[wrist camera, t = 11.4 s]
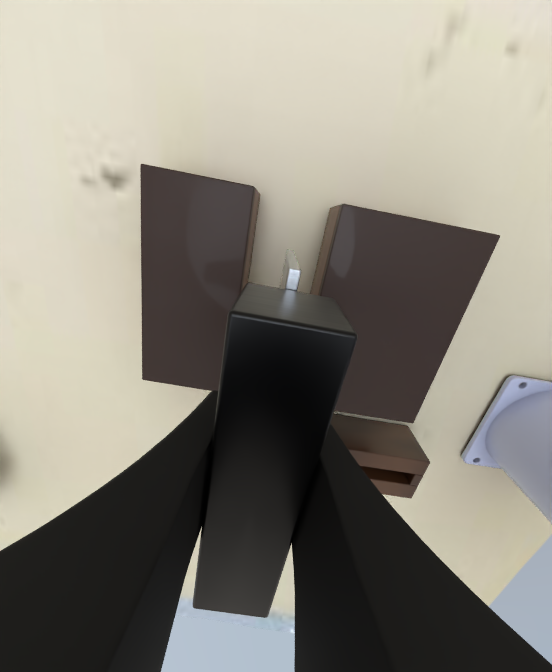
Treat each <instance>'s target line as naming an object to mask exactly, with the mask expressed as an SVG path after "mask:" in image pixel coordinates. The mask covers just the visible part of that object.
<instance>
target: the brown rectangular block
mask: <svg viewBox="0 0 552 672" xmlns="http://www.w3.org/2000/svg"><path fill="white" fill-rule="evenodd" d="M259 200H260V194H259V192H258V191H257V190H256V188H255V187H254V186H250V185H245V184H240V183H235V182H230V181H225V180H220V179H215V178H210V177H205V176H200V175H195V174H190V173H185V172H180V171H175V170H170V169H165V168H160V167H155V166H150V165H145V164H141V271H142V379H143V380H148V381H154V382H160V383H166V384H173V385H179V386H185V387H191V388H197V389H204V390H210V391H214V390H216V391H219V382H220V374H221V366H222V358H223V349H224V341H225V333H226V325H227V316H228V313H229V311H230V309H231V308H232V306H233V305H234V303H235V301H236V300H237V298H238V297H239V295H240V293H241V292H242V290H243V289H244V287H245V285H246V284H247V283H248V278H249V271H250V264H251V257H252V250H253V242H254V235H255V228H256V221H257V214H258V207H259Z"/></svg>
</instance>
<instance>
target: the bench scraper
mask: <svg viewBox="0 0 552 672" xmlns="http://www.w3.org/2000/svg"><path fill="white" fill-rule="evenodd" d="M300 275H301V269H300V266H299V264H298V261H297V258H296V255H295V253H294V251H293V250H289V249H287V251H286V256H285V262H284V267H283V272H282V278H281V283H280V288H275V287H270V286H265V285H259V284H254V283H247V284H246V285H245V287H244V289H243V290H242V292H241V293H240V295H239V297H238V298H237V300H236V301H235V303H234V305H233V306H232V308H231V309H230V311H229V313H228V316H227V325H226V333H225V341H224V349H223V358H222V366H221V374H220V382H219V391H218V399H217V407H216V415H215V424H214V432H213V440H212V448H211V457H210V465H209V473H208V482H207V490H206V498H205V506H204V515H203V523H202V531H201V539H200V548H199V556H198V564H197V572H196V581H195V589H194V597H193V607H194V608H196V609H204V610H211V611H219V612H226V613H234V614H241V615H249V616H256V617H264V618H266V617H268V614H269V611H270V608H271V605H272V602H273V599H274V595H275V592H276V589H277V586H278V583H279V580H280V577H281V574H282V571H283V568H284V565H285V561H286V558H287V555H288V552H289V549H290V546H291V543H292V540H293V537H294V534H295V530H296V527H297V524H298V521H299V518H300V515H301V512H302V509H303V506H304V503H305V500H306V496H307V493H308V490H309V487H310V484H311V481H312V478H313V475H314V472H315V469H316V465H317V462H318V459H319V456H320V453H321V450H322V447H323V444H324V441H325V438H326V435H327V431H328V428H329V425H330V422H331V419H332V416H333V413H334V410H335V407H336V404H337V400H338V397H339V394H340V391H341V388H342V385H343V382H344V379H345V376H346V373H347V370H348V366H349V363H350V360H351V357H352V354H353V351H354V348H355V345H356V342H357V339H358V335H357V333H356V331H355V330H354V328H353V327H352V325H351V324H350V322H349V321H348V319H347V318H346V316H345V315H344V313H343V312H342V310H341V309H340V307H339V306H338V304H337V303H336V301H335V300H334V299H333V298H329V297H323V296H318V295H313V294H307V293H302V292H297V289H298V284H299V279H300Z"/></svg>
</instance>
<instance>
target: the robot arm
mask: <svg viewBox="0 0 552 672" xmlns="http://www.w3.org/2000/svg"><path fill="white" fill-rule="evenodd" d="M520 383H521V384H520ZM519 384H520V385H519ZM217 399H218V391H216V390H214V391H212V392H210V393H209V394H208V396H207V397H206V398H205V399H204V400H203V401H202V402H201V403H200V404H199V406H198V407H197V408H196V409H195V410H194V411H193V412H192V413H191V414H190V415H189V416H188V417H187V418H186V419H184V420H183V421H182V422H181V423H180V424H179V425H178V426H177V427H176V428H175V429H174V430H173V431H172V432H171V433H169V434H168V435H167V436H166V437H165V438H164V439H163V440H161V441H160V442H159V443H158V444H157V445H155V446H154V447H153V448H152V449H151V450H149V451H148V452H147V453H146V454H145V455H144V456H142V457H141V458H140V459H139V460H137V461H136V462H135V463H133V464H132V465H131V466H130V467H128V468H127V469H126V470H124V471H123V472H122V473H120V474H119V475H118V476H116V477H115V478H113V479H112V480H111V481H109V482H108V483H106V484H105V485H104V486H102V487H101V488H99V489H98V490H97V491H95V492H94V493H92V494H91V495H89V496H88V497H86V498H85V499H83V500H82V501H80V502H79V503H77V504H76V505H74V506H73V507H71V508H70V509H68V510H67V511H65V512H64V513H62V514H61V515H59V516H57V517H56V518H54V519H53V520H51V521H50V522H48V523H46V524H45V525H43V526H42V527H40V528H38V529H37V530H35V531H33V532H32V533H30V534H28V535H27V536H25V537H23V538H22V539H20V540H18V541H16V542H15V543H13V544H11V545H10V546H8V547H6V548H5V549H3V550H1V551H0V672H161V668H162V664H163V660H164V656H165V652H166V649H167V645H168V641H169V637H170V633H171V629H172V625H173V621H174V618H175V614H176V610H177V606H178V602H179V598H180V594H181V591H182V587H183V583H184V579H185V576H186V572H187V569H188V566H189V563H190V559H191V556H192V553H193V550H194V547H195V544H196V541H197V538H198V535H199V532H200V530H201V527H202V523H203V515H204V506H205V498H206V490H207V482H208V473H209V465H210V457H211V448H212V440H213V432H214V424H215V415H216V407H217ZM461 457H462V459H463V461H464V462H465V463H468V464H474V465H481V466H487V467H494V468H500V469H503V470H504V472H505V473H506V474H507V475H508V476H509V477H510V478H511V479H512V480H513V482H514V483H515V484H516V485H517V486H518V487H519V488H520V489H521V491H522V492H523V493H524V494H525V495H526V496H527V497H528V498H529V499H530V501H531V502H532V503H533V504H534V505H535V506H536V507H537V508H538V509H539V511H540V512H541V513H542V514H543V515H544V516H545V517H546V518H547V520H548V521H549V522H550V523H551V524H552V382H550V381H545V380H539V379H533V378H527V377H522V376H516V375H513V376H510V377H508V378H507V379H506V380H505V382H504V384H503V385H502V387H501V389H500V390H499V392H498V394H497V396H496V397H495V399H494V401H493V402H492V404H491V406H490V408H489V409H488V411H487V413H486V414H485V416H484V418H483V420H482V421H481V423H480V425H479V426H478V428H477V430H476V432H475V433H474V435H473V437H472V438H471V440H470V442H469V444H468V445H467V447H466V449H465V450H464V452H463V454H462V456H461ZM292 552H293V565H294V584H295V672H552V665H551V664H550V663H549V662H548V661H547V660H546V659H545V658H543V656H542V655H540V654H539V653H538V652H537V651H536V650H535V649H534V648H533V647H532V646H530V645H529V644H528V643H527V642H526V641H525V640H524V639H523V638H522V637H521V636H519V635H518V634H517V633H516V632H515V631H514V630H513V629H512V628H511V627H510V626H508V625H507V624H506V623H505V622H504V621H503V620H502V619H501V618H500V617H499V616H498V615H496V613H495V612H493V611H492V610H491V609H490V608H489V607H488V606H487V605H486V604H485V603H484V602H483V601H482V600H481V599H480V598H479V597H478V596H477V595H475V594H474V593H473V592H472V591H471V590H470V589H469V588H468V587H467V586H466V585H465V584H464V583H463V582H462V581H461V580H460V579H459V578H458V577H457V576H456V575H455V574H454V573H453V572H452V571H451V570H450V569H449V568H448V567H447V566H446V565H445V564H444V563H443V562H442V561H441V560H440V559H439V558H438V557H437V556H436V555H435V553H434V552H433V551H432V550H431V549H430V548H429V547H428V546H427V545H426V544H425V543H424V542H423V541H422V540H421V539H420V538H419V536H418V535H417V534H416V533H415V532H414V531H413V530H412V529H411V528H410V526H409V525H408V524H407V523H406V522H405V521H404V520H403V519H402V517H401V516H400V515H399V514H398V513H397V512H396V511H395V510H394V508H393V507H392V506H391V505H390V504H389V502H388V501H387V500H386V499H385V498H384V496H383V495H382V494H381V493H380V491H379V490H378V489H377V488H376V486H375V485H374V484H373V482H372V481H371V480H370V479H369V477H368V476H367V475H366V473H365V472H364V471H363V469H362V468H361V467H360V465H359V464H358V463H357V461H356V460H355V458H354V457H353V456H352V454H351V453H350V451H349V450H348V448H347V447H346V446H345V444H344V443H343V441H342V440H341V438H340V437H339V435H338V434H337V432H336V430H335V429H334V427H333V426H332V424H331V423H330V425H329V428H328V431H327V435H326V438H325V441H324V444H323V447H322V450H321V453H320V456H319V459H318V462H317V465H316V469H315V472H314V475H313V478H312V481H311V484H310V487H309V490H308V493H307V496H306V500H305V503H304V506H303V509H302V512H301V515H300V518H299V521H298V524H297V527H296V530H295V534H294V537H293V540H292Z"/></svg>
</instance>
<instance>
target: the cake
mask: <svg viewBox="0 0 552 672" xmlns="http://www.w3.org/2000/svg"><path fill="white" fill-rule="evenodd" d="M499 238H500V236H499V235H496V234H491V233H486V232H481V231H476V230H471V229H466V228H461V227H456V226H451V225H446V224H441V223H436V222H431V221H426V220H421V219H416V218H411V217H406V216H401V215H396V214H392V213H387V212H382V211H377V210H372V209H367V208H362V207H357V206H352V205H347V204H342V205H339V206H335V207H332V208H330V211H329V215H328V219H327V224H326V228H325V232H324V237H323V241H322V245H321V250H320V254H319V258H318V262H317V267H316V271H315V275H314V280H313V284H312V288H311V293H310V294H313V295H318V296H323V297H329V298H333V299H334V300H335V301H336V303H337V304H338V306H339V307H340V309H341V310H342V312H343V313H344V315H345V316H346V318H347V319H348V321H349V322H350V324H351V325H352V327H353V328H354V330H355V331H356V333H357V335H358V339H357V342H356V345H355V348H354V351H353V354H352V357H351V360H350V363H349V366H348V370H347V373H346V376H345V379H344V382H343V385H342V388H341V391H340V394H339V397H338V400H337V404H336V407H335V410H334V411H340V412H347V413H353V414H359V415H365V416H371V417H377V418H384V419H390V420H396V421H402V422H408V423H414V420H415V418H416V416H417V414H418V412H419V410H420V408H421V405H422V403H423V401H424V399H425V397H426V395H427V392H428V390H429V388H430V386H431V384H432V382H433V380H434V377H435V375H436V373H437V371H438V369H439V367H440V365H441V362H442V360H443V358H444V356H445V354H446V352H447V350H448V347H449V345H450V343H451V341H452V339H453V337H454V334H455V332H456V330H457V328H458V326H459V324H460V322H461V319H462V317H463V315H464V313H465V311H466V309H467V307H468V304H469V302H470V300H471V298H472V296H473V294H474V292H475V289H476V287H477V285H478V283H479V281H480V279H481V276H482V274H483V272H484V270H485V268H486V266H487V264H488V261H489V259H490V257H491V255H492V253H493V251H494V249H495V246H496V244H497V242H498V240H499Z"/></svg>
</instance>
